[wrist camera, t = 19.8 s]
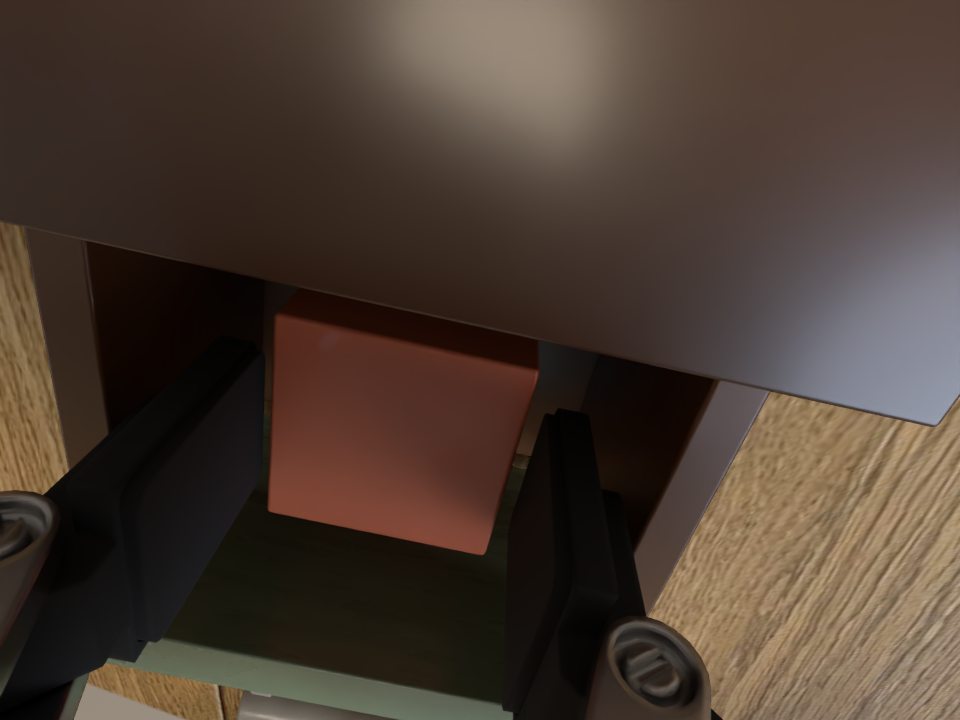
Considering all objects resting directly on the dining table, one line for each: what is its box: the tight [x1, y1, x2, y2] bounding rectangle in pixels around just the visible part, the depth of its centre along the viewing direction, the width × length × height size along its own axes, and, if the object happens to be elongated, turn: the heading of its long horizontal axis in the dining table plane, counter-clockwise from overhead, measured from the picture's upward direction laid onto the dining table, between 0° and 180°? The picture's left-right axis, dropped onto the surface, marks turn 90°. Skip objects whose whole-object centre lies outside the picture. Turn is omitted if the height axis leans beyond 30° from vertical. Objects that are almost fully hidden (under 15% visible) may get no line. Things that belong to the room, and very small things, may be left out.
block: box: [268, 288, 540, 555], centre depth 13 cm, size 4×4×4 cm
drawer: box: [24, 227, 771, 720], centre depth 13 cm, size 19×11×7 cm, turn 168°
